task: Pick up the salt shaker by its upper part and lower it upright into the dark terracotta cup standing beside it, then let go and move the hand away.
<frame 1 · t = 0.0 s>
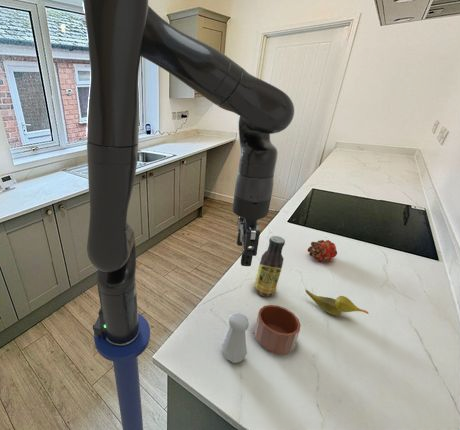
hand: (243, 254, 64), 23 cm above the worktop, tool pointing down, fingers open, 8 cm apart
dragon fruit: (320, 258, 99), on the worktop
sauce bottle: (264, 291, 85), on the worktop
yellow-green tapered piece: (330, 312, 76), on the worktop
cup: (273, 338, 69), on the worktop
salt shaker: (232, 356, 65), on the worktop
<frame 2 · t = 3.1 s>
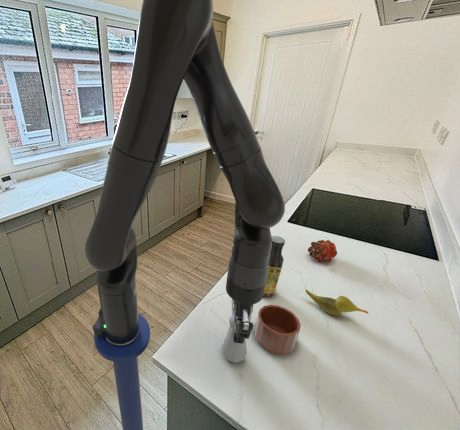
hand: (237, 332, 61), 8 cm above the worktop, tool pointing down, fingers closed on salt shaker, 4 cm apart
salt shaker: (232, 356, 65), on the worktop, touching gripper
everything else where it was.
when the fingers open (9 cm above the worktop, at t = 9.5 s): salt shaker stays where it is, resting on cup.
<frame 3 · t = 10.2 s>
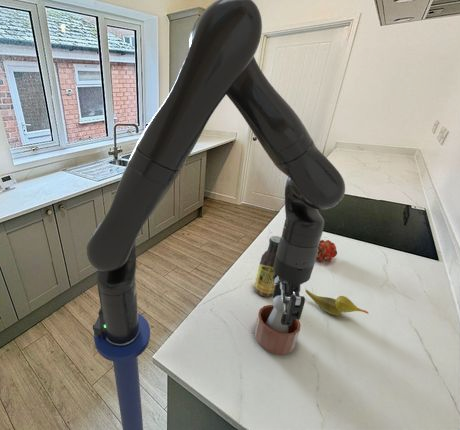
hand: (281, 310, 65), 10 cm above the worktop, tool pointing down, fingers open, 8 cm apart
salt shaker: (273, 337, 69), resting on cup
everything else where it was.
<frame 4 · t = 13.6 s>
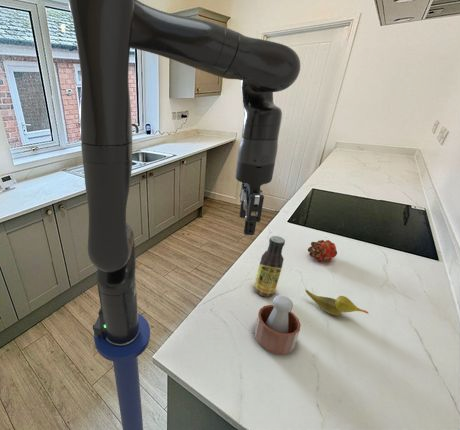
hand: (246, 225, 63), 30 cm above the worktop, tool pointing down, fingers open, 8 cm apart
nothing on the worktop moved.
at the end: salt shaker 0.0 cm off-centre in the cup, point 0.3 cm above the cup's base; salt shaker tilted 0°; the gripper is holding nothing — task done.
